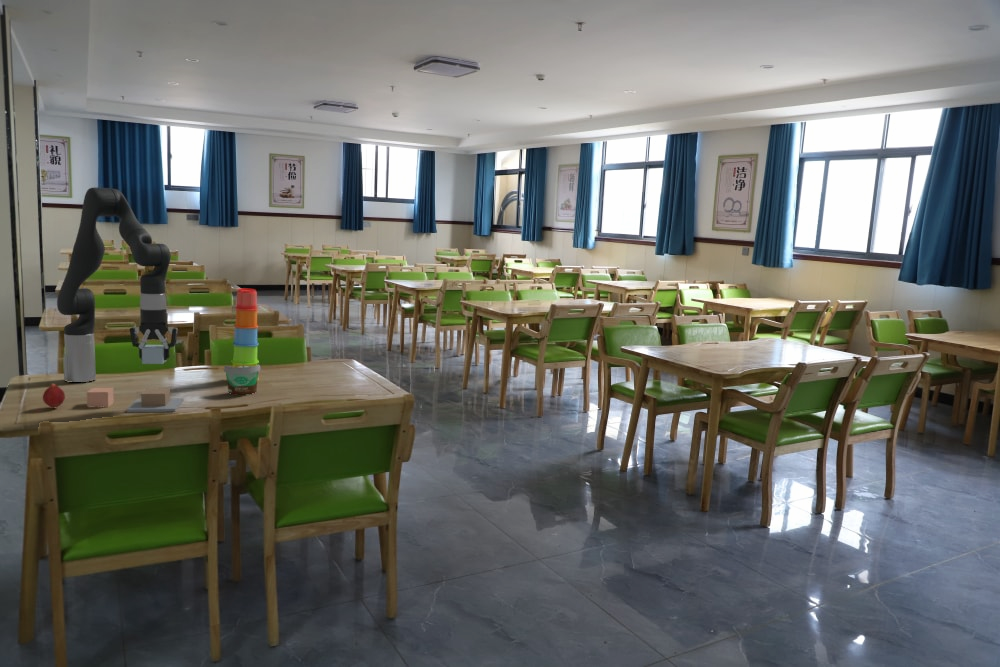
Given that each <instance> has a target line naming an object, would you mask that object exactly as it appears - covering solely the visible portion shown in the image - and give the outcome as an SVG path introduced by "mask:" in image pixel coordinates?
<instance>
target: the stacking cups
mask: <svg viewBox="0 0 1000 667" xmlns="http://www.w3.org/2000/svg"><path fill="white" fill-rule="evenodd" d="M257 299H258V293H257V290H256V289H255V288H246V287H243V288H238V289H237V291H236V306H235V307H234V309H235V324H233V327H234V341H233V342H232V345H233V356H232V359H231V361H230V362H231V363H232V367H238V366H257V365H258V364H260V361H259V359H258V346H259V344H260V343H259V342H258V328H259V325H258V310H259V308H258V307H257V306H258V305H257V304H258V300H257ZM258 381H259V377H258Z"/></svg>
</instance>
